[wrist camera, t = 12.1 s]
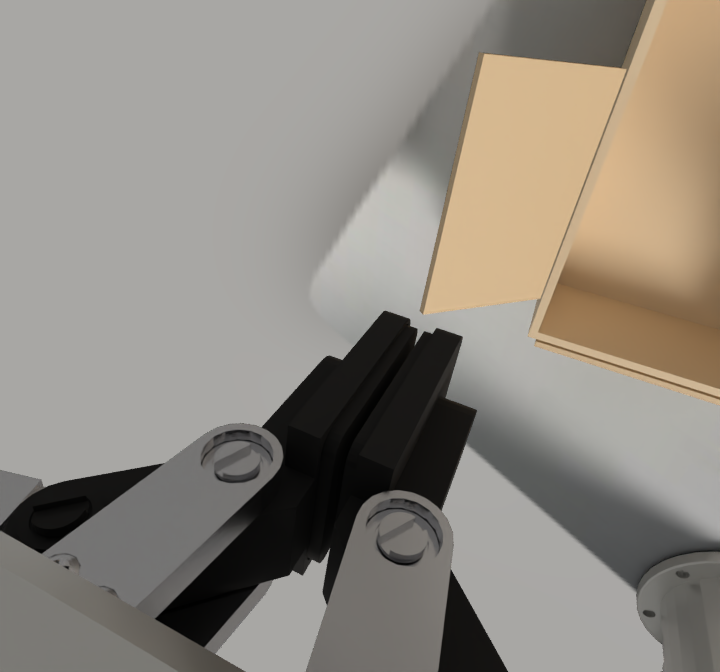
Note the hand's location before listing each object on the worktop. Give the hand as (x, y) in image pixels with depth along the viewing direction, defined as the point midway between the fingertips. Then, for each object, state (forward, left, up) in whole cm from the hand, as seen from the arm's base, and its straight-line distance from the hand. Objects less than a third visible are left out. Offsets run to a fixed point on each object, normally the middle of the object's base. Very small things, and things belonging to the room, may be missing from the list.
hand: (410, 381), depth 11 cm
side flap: (0, -3, -16) cm, 16 cm away
